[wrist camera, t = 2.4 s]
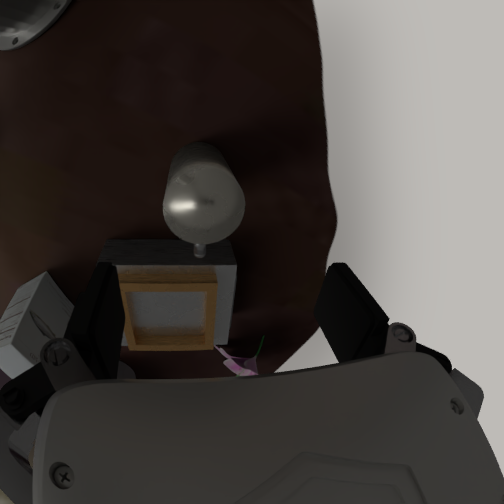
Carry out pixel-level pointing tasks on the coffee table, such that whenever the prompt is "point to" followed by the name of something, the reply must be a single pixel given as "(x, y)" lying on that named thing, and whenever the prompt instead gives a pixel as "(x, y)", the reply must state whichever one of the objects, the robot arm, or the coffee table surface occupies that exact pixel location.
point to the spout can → (202, 197)
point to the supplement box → (32, 323)
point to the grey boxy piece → (173, 293)
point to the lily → (241, 363)
